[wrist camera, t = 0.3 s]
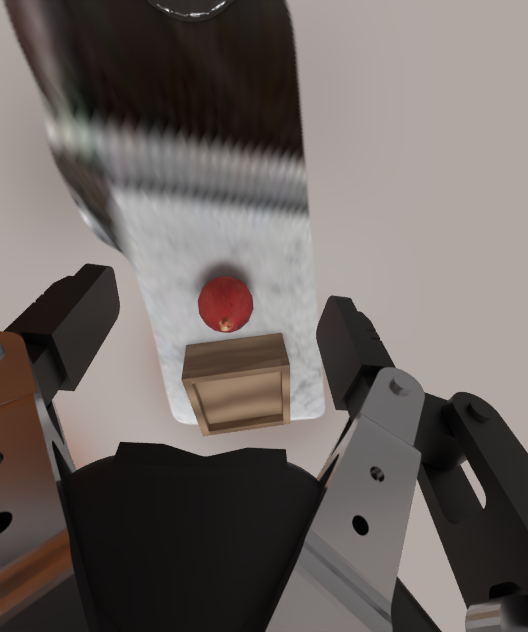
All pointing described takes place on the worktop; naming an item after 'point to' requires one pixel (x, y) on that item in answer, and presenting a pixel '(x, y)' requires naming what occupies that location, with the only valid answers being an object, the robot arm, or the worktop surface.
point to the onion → (225, 304)
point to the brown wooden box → (238, 383)
